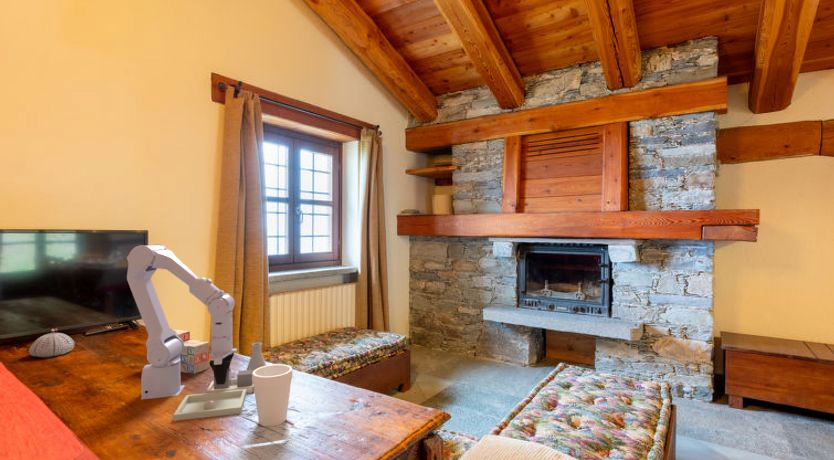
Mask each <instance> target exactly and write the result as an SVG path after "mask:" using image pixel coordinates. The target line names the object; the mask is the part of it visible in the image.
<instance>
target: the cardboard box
mask: <svg viewBox="0 0 834 460" xmlns="http://www.w3.org/2000/svg"><path fill="white" fill-rule="evenodd" d="M173 330H174V331H176V333H177V336H178V337H179V338H180V339H181V340H182V341H183V342H184V351H183V352H182V354H181V355H180V369H181V373H185V374H186V373H187V374H191V375H195V374H198V373H200V372H203V371H206V370H208V369H209V368H210V365H209V362H210V355H209V354H210V342H209V341H202V340H195V339H191V336H190V334H191V333H190V332H191V331H189V330H181V329H173Z"/></svg>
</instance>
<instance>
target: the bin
mask: <svg viewBox="0 0 834 460" xmlns="http://www.w3.org/2000/svg"><path fill="white" fill-rule="evenodd" d="M246 398H247V393H246V389H242V390H232V391H222V392H213V393H206V392H204V393H194V394H186V395H185V397H184V398H183V399H182V401H181V403H180V404H179V406H178V407H177V409H176V410H175V412H174V413H173V417H172V418H173V422H177V421H186V420H193V419H202V418H210V417H211V418H213V417H219V416H220V417H221V416H229V415H235V414H237V415H238V414H242V411H243V409H244V408H243V407H244V404H245V401H246ZM209 400H213V401H215V402H216V409H210V410H204V404H205V403H206V402H207V401H209Z"/></svg>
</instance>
